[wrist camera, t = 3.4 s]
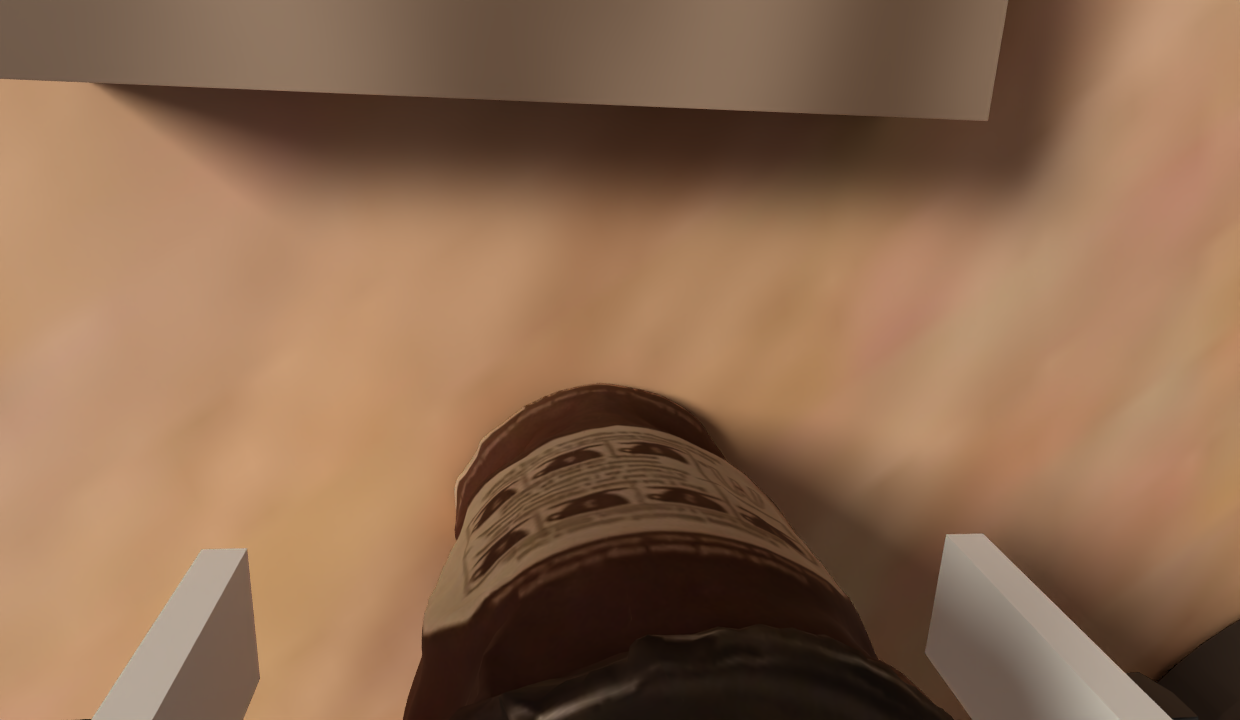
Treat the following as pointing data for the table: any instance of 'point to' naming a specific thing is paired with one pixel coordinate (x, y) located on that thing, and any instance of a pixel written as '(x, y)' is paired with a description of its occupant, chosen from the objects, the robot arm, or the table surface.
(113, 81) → the block
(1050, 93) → the table surface
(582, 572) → the coffee cup
